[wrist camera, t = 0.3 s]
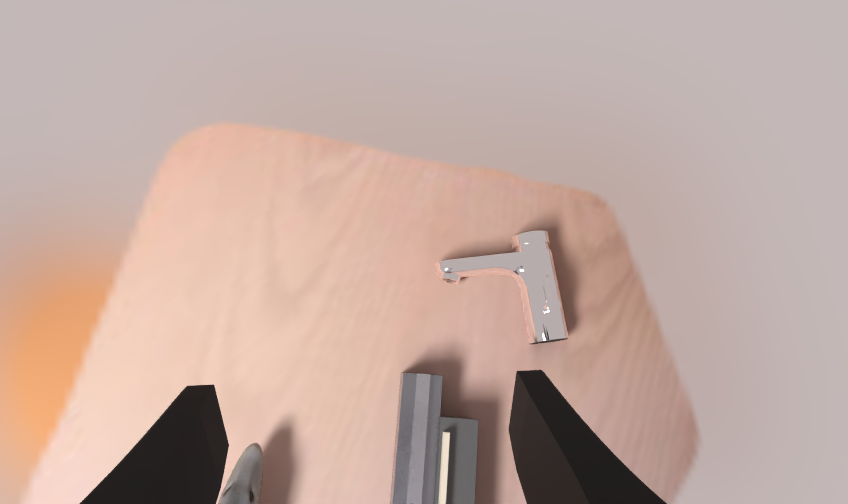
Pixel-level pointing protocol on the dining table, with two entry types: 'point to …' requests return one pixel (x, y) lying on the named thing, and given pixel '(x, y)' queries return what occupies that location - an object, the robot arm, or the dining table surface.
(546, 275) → the silver l-shaped piece
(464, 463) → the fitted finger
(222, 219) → the dining table surface
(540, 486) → the robot arm
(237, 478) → the fish
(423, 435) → the rail
